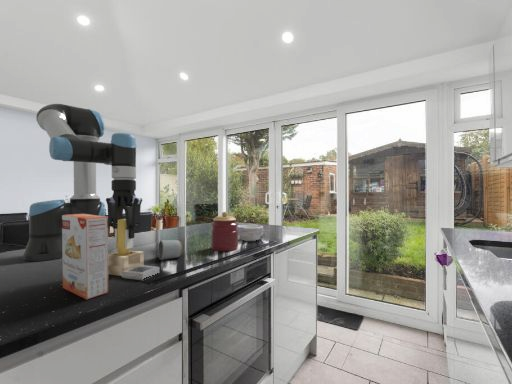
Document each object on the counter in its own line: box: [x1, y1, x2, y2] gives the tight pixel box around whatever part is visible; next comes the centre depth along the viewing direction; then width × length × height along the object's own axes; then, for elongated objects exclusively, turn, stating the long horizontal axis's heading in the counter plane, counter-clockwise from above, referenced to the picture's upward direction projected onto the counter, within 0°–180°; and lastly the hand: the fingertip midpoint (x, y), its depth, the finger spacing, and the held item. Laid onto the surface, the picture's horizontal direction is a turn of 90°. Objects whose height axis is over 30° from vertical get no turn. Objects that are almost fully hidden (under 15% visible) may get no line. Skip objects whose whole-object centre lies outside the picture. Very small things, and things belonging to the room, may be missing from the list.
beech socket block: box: [108, 250, 145, 277], centre depth 92 cm, size 9×9×6 cm
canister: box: [210, 211, 239, 252], centre depth 129 cm, size 13×13×18 cm
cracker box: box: [62, 214, 109, 300], centre depth 73 cm, size 14×6×21 cm, turn 56°
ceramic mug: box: [157, 239, 183, 261], centre depth 111 cm, size 11×8×8 cm
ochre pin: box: [117, 218, 131, 256], centre depth 92 cm, size 4×4×16 cm
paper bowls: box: [237, 224, 264, 242], centre depth 152 cm, size 15×15×8 cm
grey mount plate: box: [121, 264, 160, 281], centre depth 88 cm, size 8×8×2 cm
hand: (123, 247), depth 92 cm, fingers closed on ochre pin, 4 cm apart
